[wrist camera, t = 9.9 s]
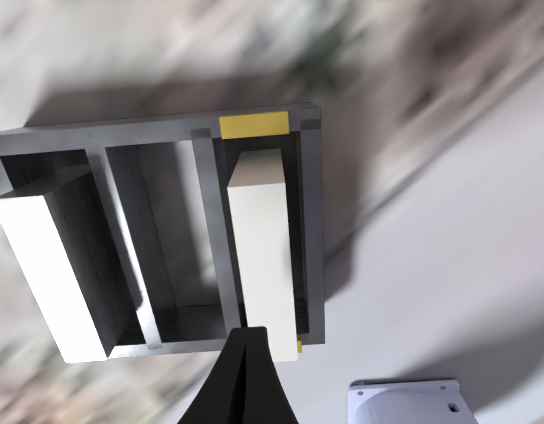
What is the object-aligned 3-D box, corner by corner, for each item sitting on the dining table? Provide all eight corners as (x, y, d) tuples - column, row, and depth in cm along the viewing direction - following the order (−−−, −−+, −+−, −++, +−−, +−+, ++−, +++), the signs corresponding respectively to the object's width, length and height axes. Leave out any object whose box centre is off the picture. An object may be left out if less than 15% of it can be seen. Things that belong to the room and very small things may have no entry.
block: (280, 148, 19) (285, 182, 13) (290, 282, 23) (298, 360, 17) (241, 151, 19) (227, 187, 13) (258, 284, 23) (253, 363, 17)
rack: (311, 102, 18) (329, 112, 13) (317, 308, 24) (331, 376, 18) (22, 127, 19) (-83, 147, 13) (97, 323, 24) (47, 394, 19)
